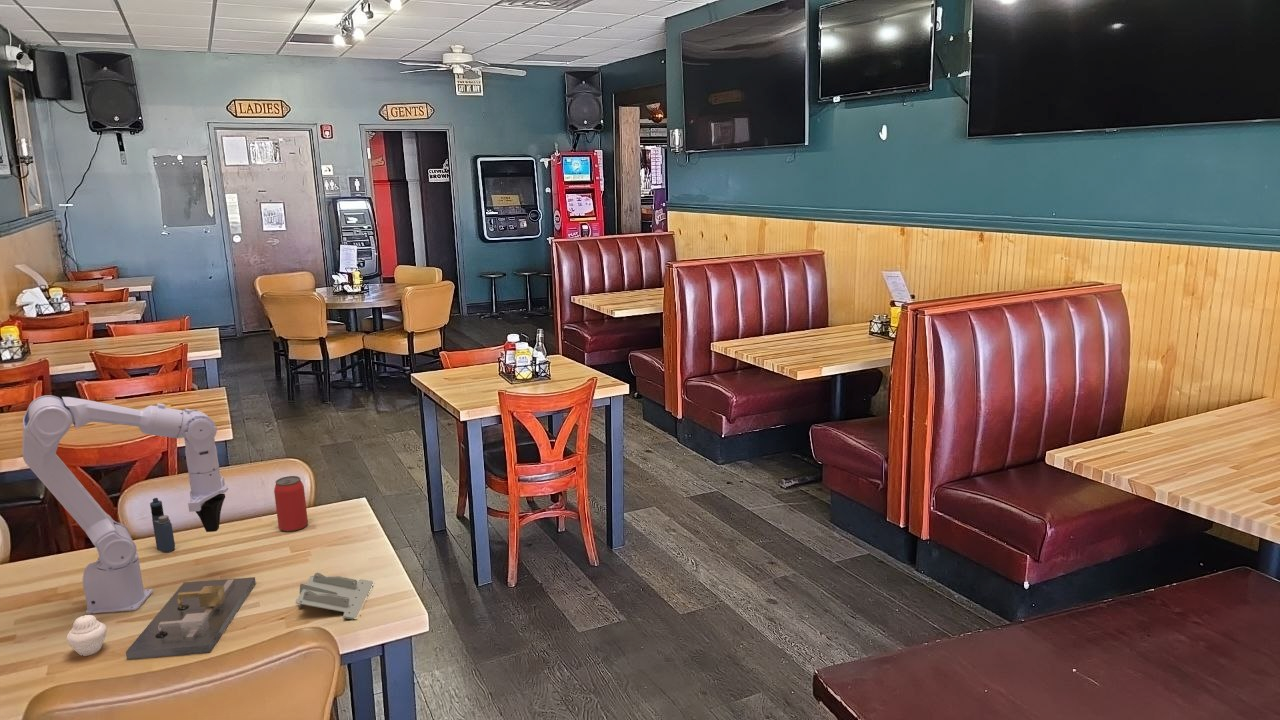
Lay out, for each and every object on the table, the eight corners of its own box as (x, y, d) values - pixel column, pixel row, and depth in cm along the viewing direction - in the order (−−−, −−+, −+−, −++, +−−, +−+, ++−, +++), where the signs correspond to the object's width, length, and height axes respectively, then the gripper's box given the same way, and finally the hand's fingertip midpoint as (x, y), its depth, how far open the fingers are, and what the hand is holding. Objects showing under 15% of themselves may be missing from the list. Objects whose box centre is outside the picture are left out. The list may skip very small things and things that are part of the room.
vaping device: (166, 544, 197) (158, 495, 195) (177, 549, 194) (169, 500, 192) (154, 548, 195) (146, 499, 193) (165, 554, 192) (158, 504, 190)
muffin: (61, 657, 152) (54, 621, 150) (93, 639, 158) (87, 605, 156) (86, 663, 150) (79, 627, 148) (117, 645, 155) (111, 610, 154)
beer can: (273, 531, 203) (267, 484, 200) (288, 520, 209) (283, 474, 207) (298, 533, 202) (292, 485, 199) (313, 521, 208) (308, 475, 205)
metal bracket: (289, 598, 160) (310, 562, 174) (283, 625, 161) (305, 587, 176) (366, 612, 162) (381, 575, 177) (360, 639, 163) (375, 600, 178)
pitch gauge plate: (126, 659, 151) (123, 636, 150) (185, 589, 176) (181, 569, 175) (210, 652, 152) (206, 629, 151) (255, 583, 177) (253, 563, 176)
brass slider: (175, 612, 163) (173, 595, 162) (182, 604, 166) (179, 588, 165) (220, 608, 164) (218, 592, 163) (225, 600, 167) (223, 584, 166)
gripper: (211, 480, 169) (220, 543, 172) (235, 456, 183) (243, 515, 186) (173, 482, 169) (183, 546, 172) (201, 458, 183) (209, 517, 186)
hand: (212, 530), depth 179 cm, fingers closed
